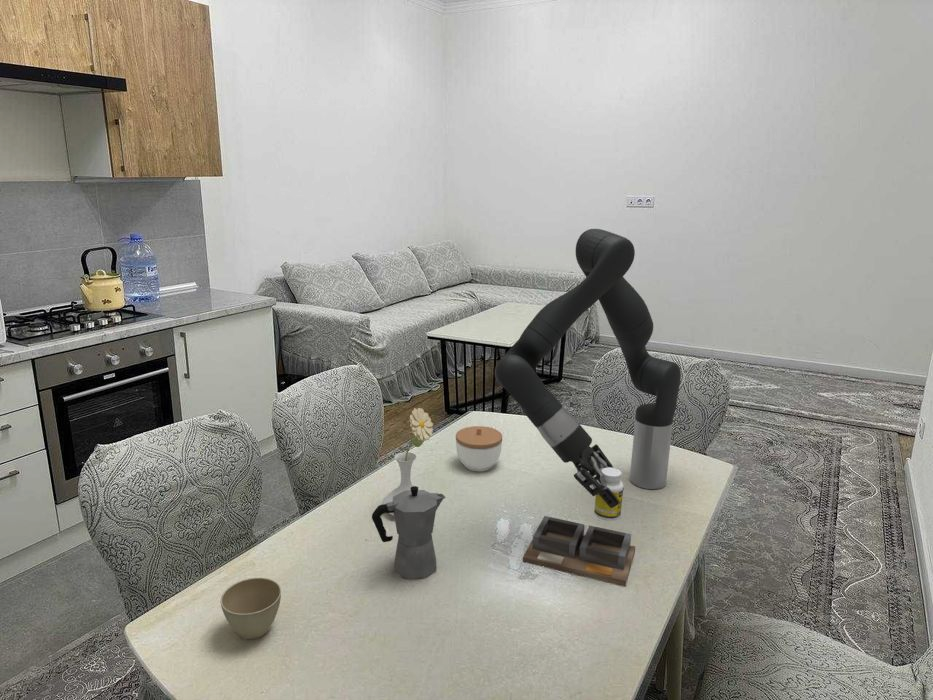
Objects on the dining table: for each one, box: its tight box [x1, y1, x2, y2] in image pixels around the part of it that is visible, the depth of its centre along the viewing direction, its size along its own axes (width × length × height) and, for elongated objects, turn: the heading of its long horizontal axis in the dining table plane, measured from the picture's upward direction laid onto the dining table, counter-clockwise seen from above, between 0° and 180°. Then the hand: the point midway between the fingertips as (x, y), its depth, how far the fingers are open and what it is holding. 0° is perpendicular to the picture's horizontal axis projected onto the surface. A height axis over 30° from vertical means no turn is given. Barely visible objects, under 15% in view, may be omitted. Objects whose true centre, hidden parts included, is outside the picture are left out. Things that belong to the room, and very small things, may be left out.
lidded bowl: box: [455, 425, 503, 472], centre depth 176 cm, size 13×13×11 cm
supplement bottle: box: [593, 467, 625, 522], centre depth 132 cm, size 5×5×10 cm
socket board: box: [522, 515, 636, 587], centre depth 136 cm, size 13×21×4 cm, turn 68°
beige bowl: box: [220, 577, 282, 640], centre depth 113 cm, size 10×10×7 cm
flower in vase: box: [381, 407, 434, 517], centre depth 151 cm, size 13×11×25 cm
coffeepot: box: [371, 485, 446, 580], centre depth 130 cm, size 15×9×18 cm, turn 116°
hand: (617, 498), depth 131 cm, fingers closed on supplement bottle, 5 cm apart
